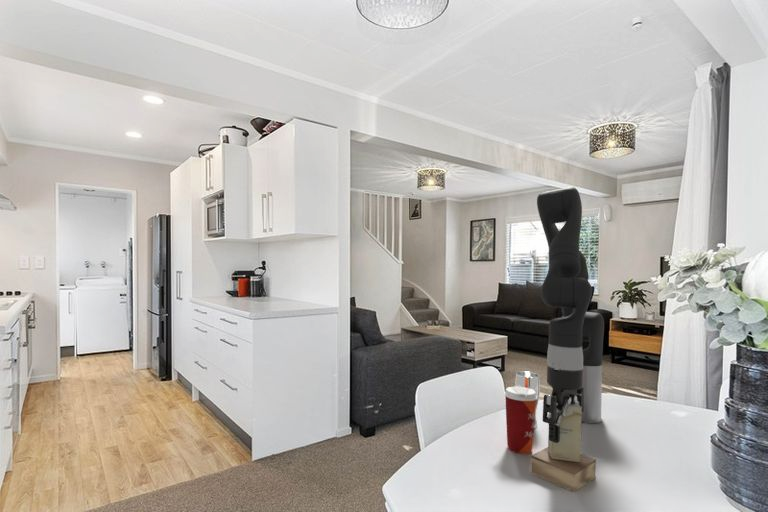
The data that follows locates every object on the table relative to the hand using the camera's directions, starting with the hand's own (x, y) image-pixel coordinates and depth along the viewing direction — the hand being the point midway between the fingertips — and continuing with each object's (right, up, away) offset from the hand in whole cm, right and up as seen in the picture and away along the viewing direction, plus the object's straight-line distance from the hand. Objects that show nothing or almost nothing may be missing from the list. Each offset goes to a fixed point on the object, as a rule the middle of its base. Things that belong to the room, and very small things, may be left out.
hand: (563, 436), depth 96 cm
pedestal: (0, -9, 0) cm, 9 cm away
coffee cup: (-6, -9, +13) cm, 17 cm away
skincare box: (0, -5, 0) cm, 5 cm away
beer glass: (+2, -10, +30) cm, 32 cm away
